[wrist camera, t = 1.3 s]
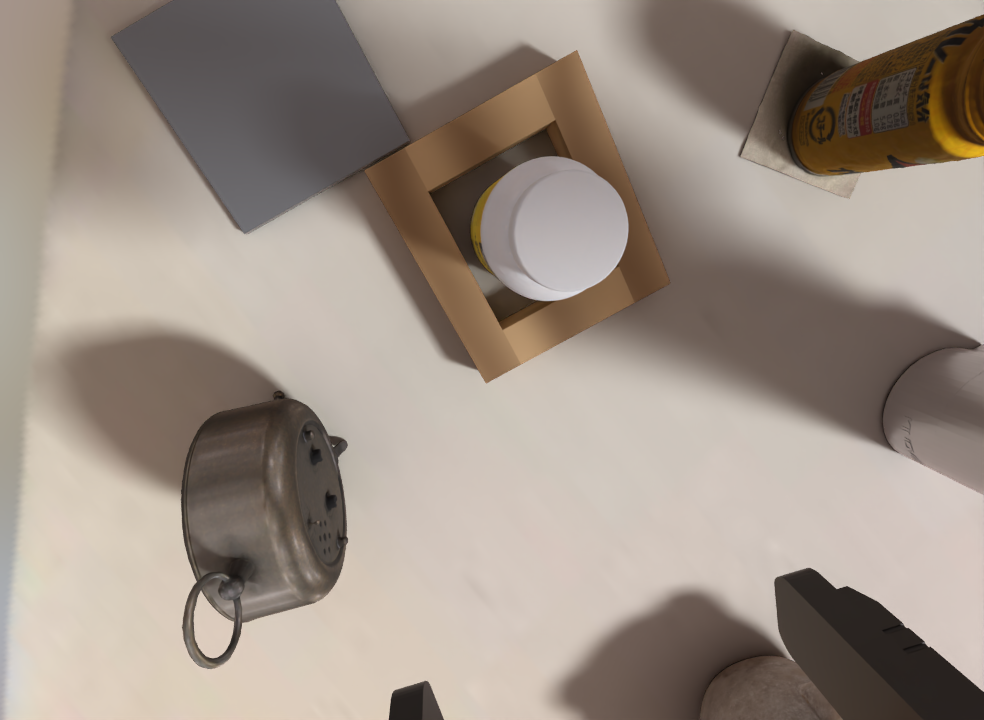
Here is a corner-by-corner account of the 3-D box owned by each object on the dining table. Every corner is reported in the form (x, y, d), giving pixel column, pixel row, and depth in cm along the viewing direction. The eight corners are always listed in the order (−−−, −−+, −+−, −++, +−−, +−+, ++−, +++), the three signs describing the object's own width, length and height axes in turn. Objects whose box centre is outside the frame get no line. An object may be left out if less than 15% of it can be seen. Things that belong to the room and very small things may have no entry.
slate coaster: (299, -66, 24) (296, -73, 23) (410, 141, 27) (409, 140, 27) (118, 41, 24) (110, 37, 24) (248, 233, 28) (244, 233, 27)
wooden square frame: (565, 65, 27) (577, 50, 25) (653, 279, 31) (670, 283, 29) (370, 175, 27) (364, 170, 25) (482, 372, 32) (485, 383, 29)
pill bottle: (448, 217, 29) (454, 210, 17) (533, 152, 28) (596, 103, 17) (508, 302, 30) (548, 345, 19) (589, 242, 30) (679, 251, 19)
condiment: (846, 199, 31) (1085, 182, 20) (738, 156, 30) (929, 112, 18) (900, 82, 29) (1196, -11, 18) (788, 31, 28) (1034, -106, 16)
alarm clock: (248, 380, 30) (44, 544, 14) (332, 363, 30) (220, 507, 15) (298, 523, 33) (174, 784, 18) (373, 507, 33) (317, 749, 18)
